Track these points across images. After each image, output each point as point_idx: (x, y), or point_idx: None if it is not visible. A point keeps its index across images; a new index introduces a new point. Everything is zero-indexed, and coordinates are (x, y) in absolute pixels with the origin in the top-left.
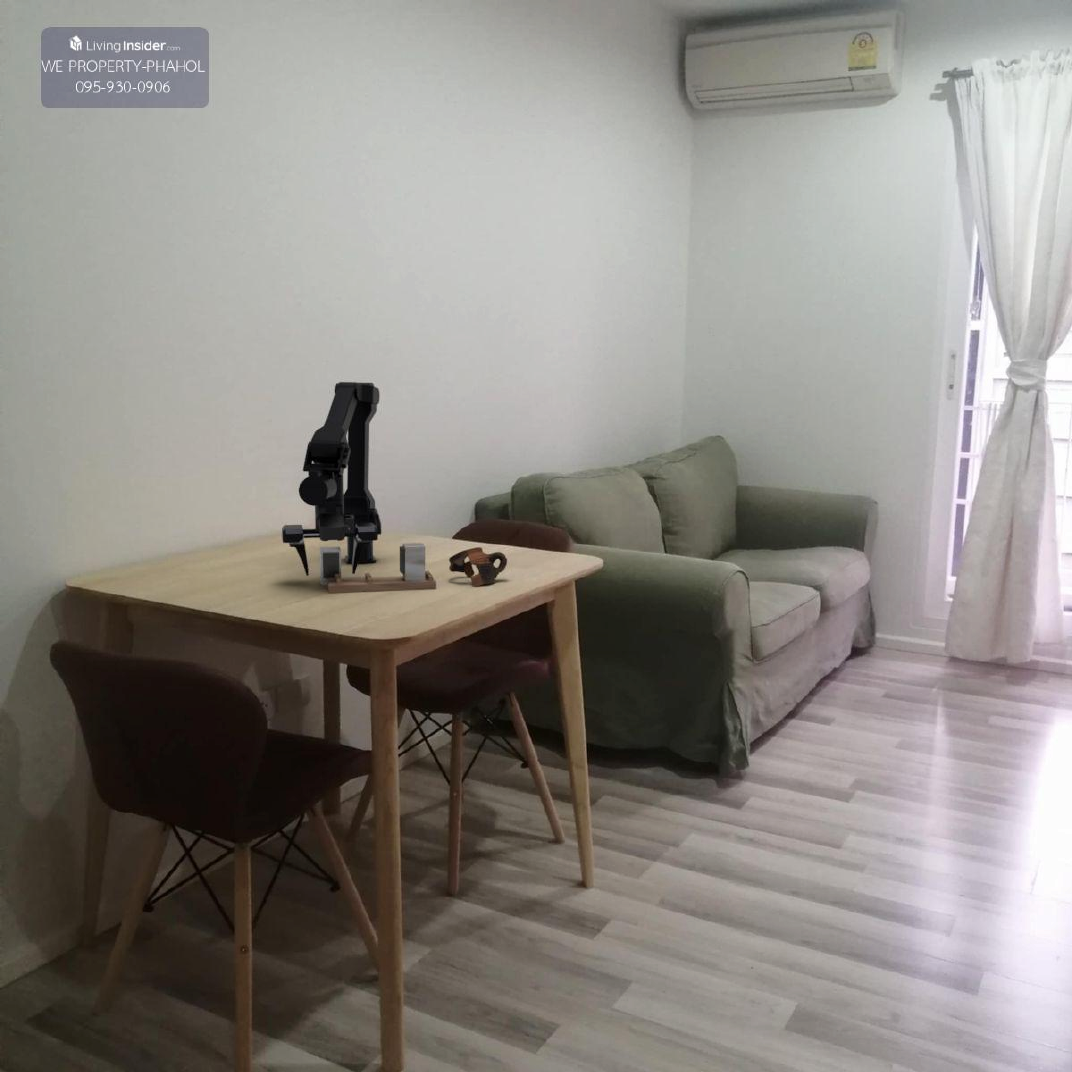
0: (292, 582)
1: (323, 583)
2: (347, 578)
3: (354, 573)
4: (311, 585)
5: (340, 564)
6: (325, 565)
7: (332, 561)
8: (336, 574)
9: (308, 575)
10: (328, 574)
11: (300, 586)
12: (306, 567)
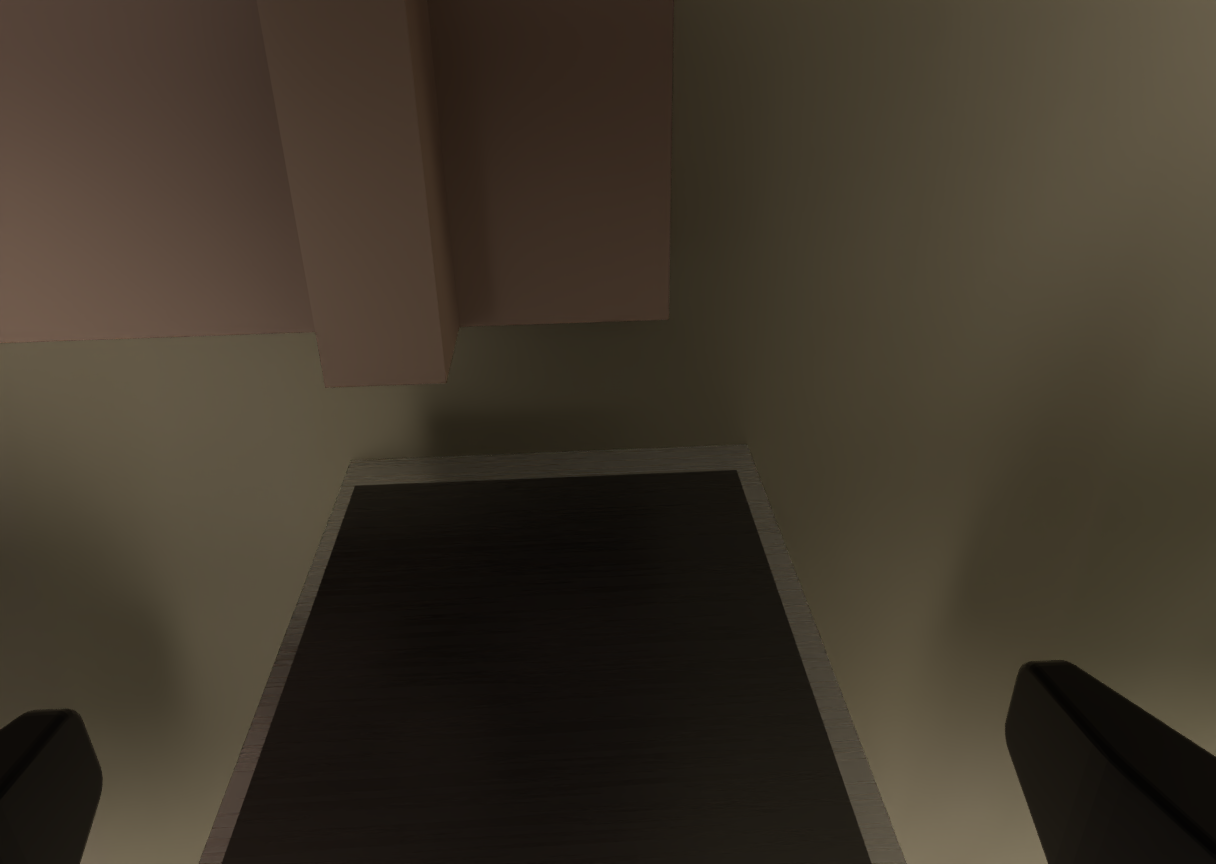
0: (1190, 660)
1: (709, 458)
2: (129, 330)
3: (28, 714)
4: (940, 415)
5: (249, 781)
6: (736, 692)
7: (497, 808)
8: (397, 306)
9: (1025, 663)
10: (623, 517)
11: (1163, 361)
12: (1187, 777)
